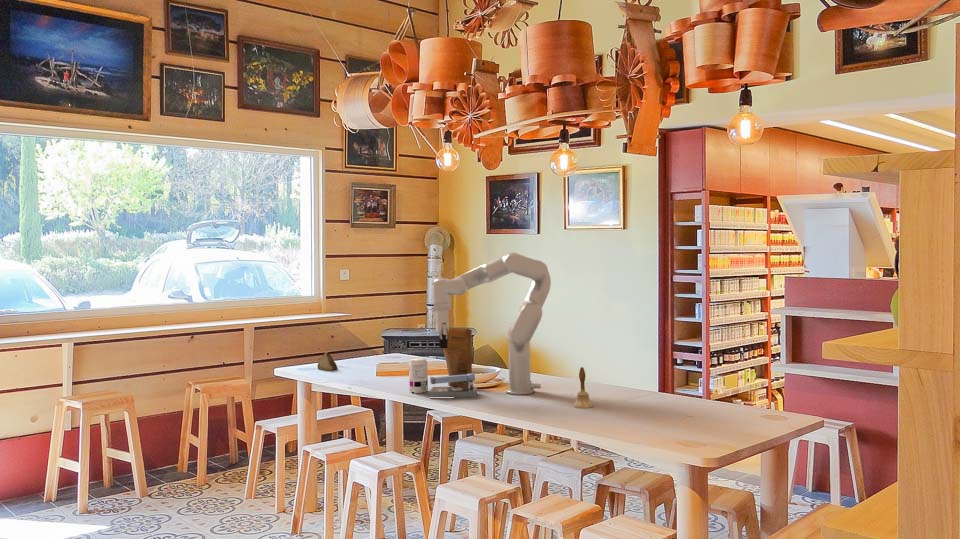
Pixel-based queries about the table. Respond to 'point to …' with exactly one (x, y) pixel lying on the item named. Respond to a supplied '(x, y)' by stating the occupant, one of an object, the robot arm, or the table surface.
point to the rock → (327, 362)
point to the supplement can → (418, 375)
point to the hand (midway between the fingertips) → (443, 347)
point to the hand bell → (582, 393)
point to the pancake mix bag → (459, 354)
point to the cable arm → (452, 378)
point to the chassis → (454, 391)
